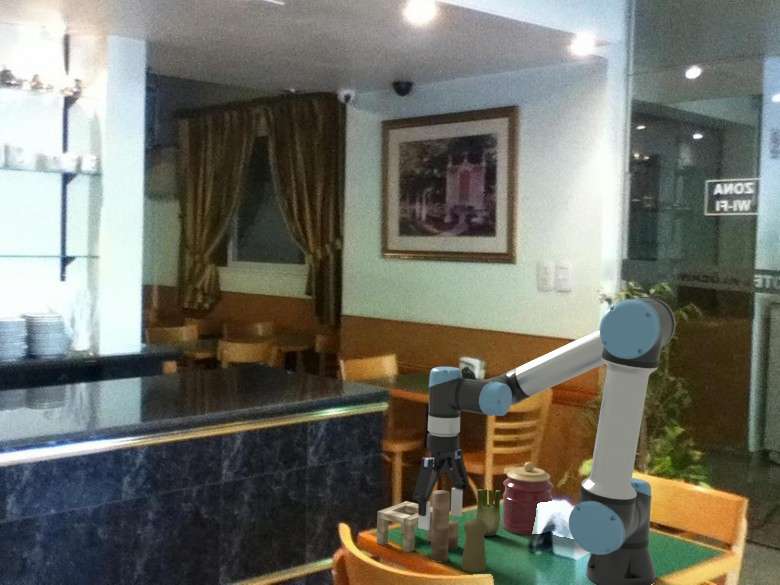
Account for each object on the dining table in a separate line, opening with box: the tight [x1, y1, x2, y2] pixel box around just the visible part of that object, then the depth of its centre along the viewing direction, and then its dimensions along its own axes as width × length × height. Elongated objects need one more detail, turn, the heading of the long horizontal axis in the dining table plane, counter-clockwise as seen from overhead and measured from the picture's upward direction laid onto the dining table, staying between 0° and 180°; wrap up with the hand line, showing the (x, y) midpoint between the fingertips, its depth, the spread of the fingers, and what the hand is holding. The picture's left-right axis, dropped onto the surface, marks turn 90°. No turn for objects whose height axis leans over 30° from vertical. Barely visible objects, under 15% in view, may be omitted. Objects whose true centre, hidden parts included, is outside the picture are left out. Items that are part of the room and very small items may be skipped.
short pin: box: [448, 519, 460, 551], centre depth 233 cm, size 4×4×6 cm
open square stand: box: [376, 500, 433, 553], centre depth 236 cm, size 10×12×8 cm
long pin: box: [430, 489, 451, 563], centre depth 224 cm, size 4×4×16 cm
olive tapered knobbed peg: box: [460, 518, 488, 573], centre depth 220 cm, size 6×6×11 cm
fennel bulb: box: [474, 488, 501, 537], centre depth 243 cm, size 6×5×12 cm
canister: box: [501, 461, 554, 536], centre depth 250 cm, size 13×13×18 cm
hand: (440, 522), depth 224 cm, fingers open, 13 cm apart
